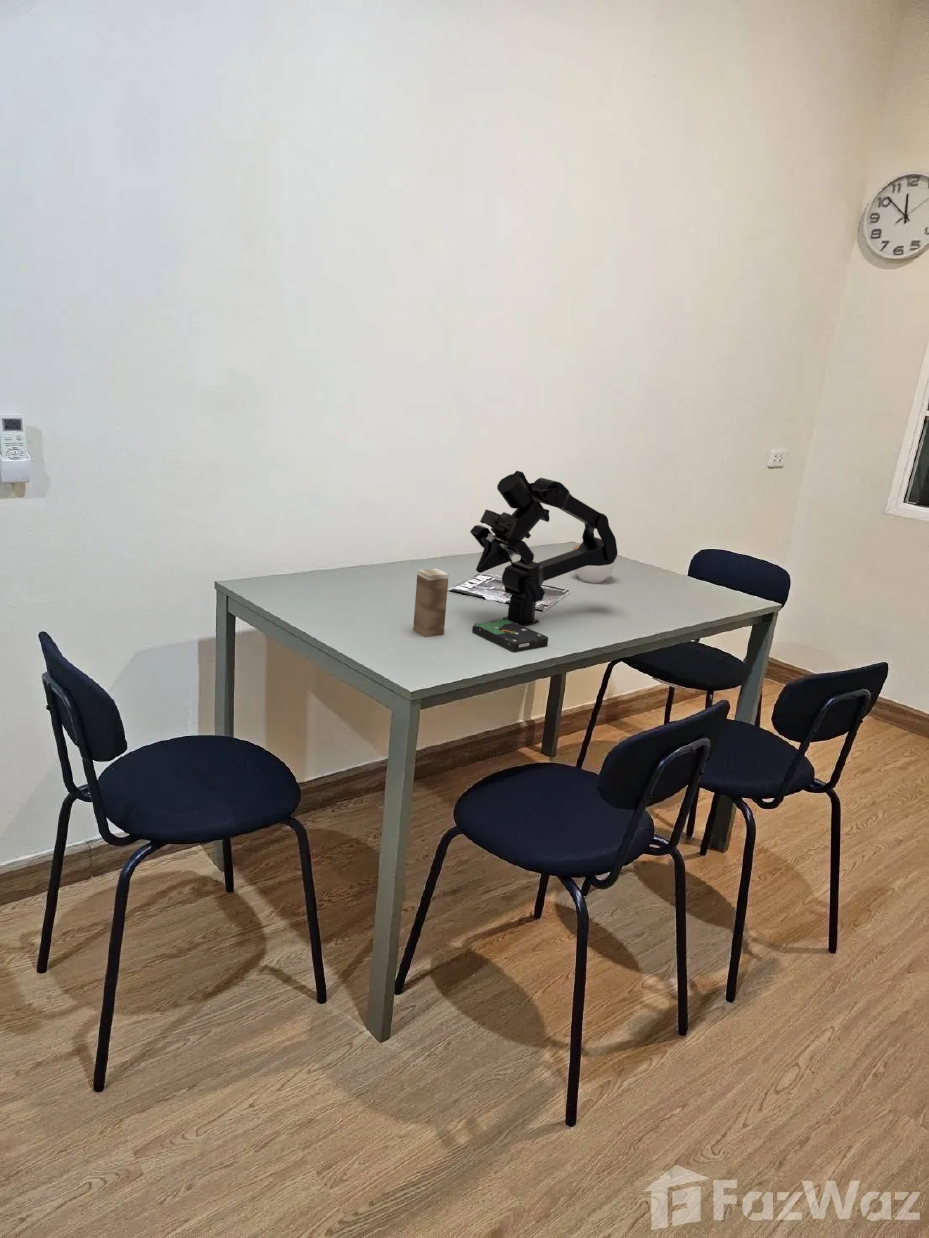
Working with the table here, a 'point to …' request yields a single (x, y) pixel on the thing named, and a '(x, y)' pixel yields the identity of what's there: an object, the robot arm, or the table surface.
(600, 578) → the lidded bowl
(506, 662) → the table surface
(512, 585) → the robot arm
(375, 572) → the table surface
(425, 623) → the walnut block
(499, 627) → the disk drive
